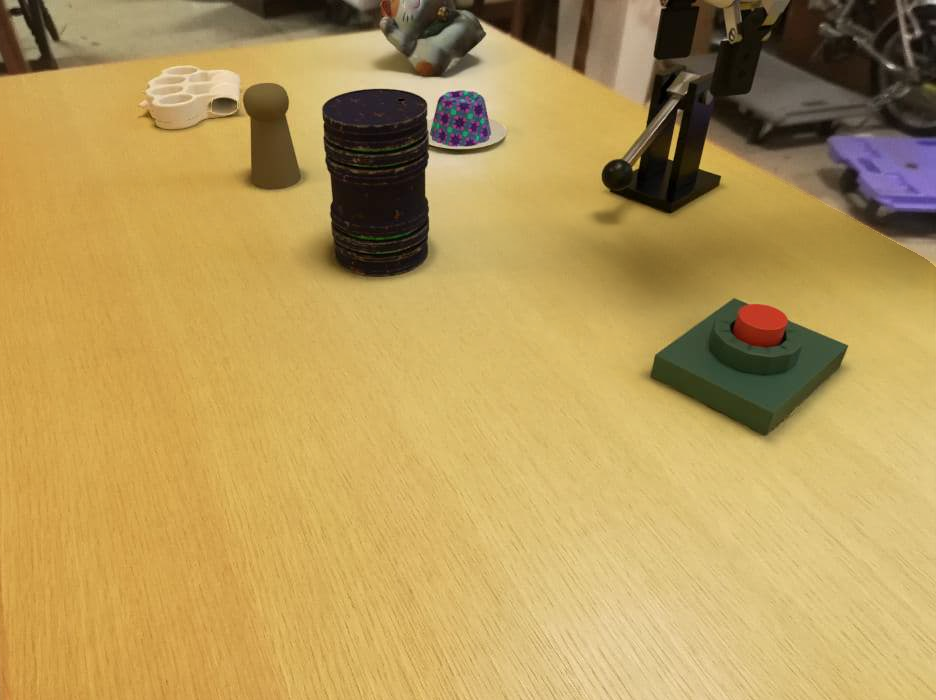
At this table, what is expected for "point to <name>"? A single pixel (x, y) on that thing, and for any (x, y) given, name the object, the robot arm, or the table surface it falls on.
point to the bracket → (681, 176)
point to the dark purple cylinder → (378, 179)
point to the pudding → (463, 122)
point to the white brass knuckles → (191, 95)
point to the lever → (647, 135)
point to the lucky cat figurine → (430, 32)
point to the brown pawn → (270, 137)
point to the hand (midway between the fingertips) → (698, 75)
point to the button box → (747, 368)
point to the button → (760, 325)
